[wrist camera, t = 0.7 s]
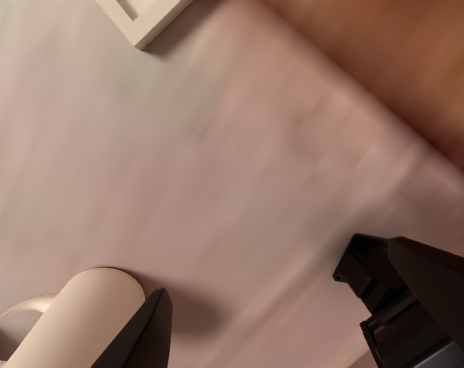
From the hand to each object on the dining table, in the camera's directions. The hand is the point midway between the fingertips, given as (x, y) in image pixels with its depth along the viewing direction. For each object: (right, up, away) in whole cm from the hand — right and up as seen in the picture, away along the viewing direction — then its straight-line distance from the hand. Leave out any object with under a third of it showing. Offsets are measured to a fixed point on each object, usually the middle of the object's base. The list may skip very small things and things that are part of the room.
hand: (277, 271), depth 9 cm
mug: (-17, -8, +17) cm, 26 cm away
